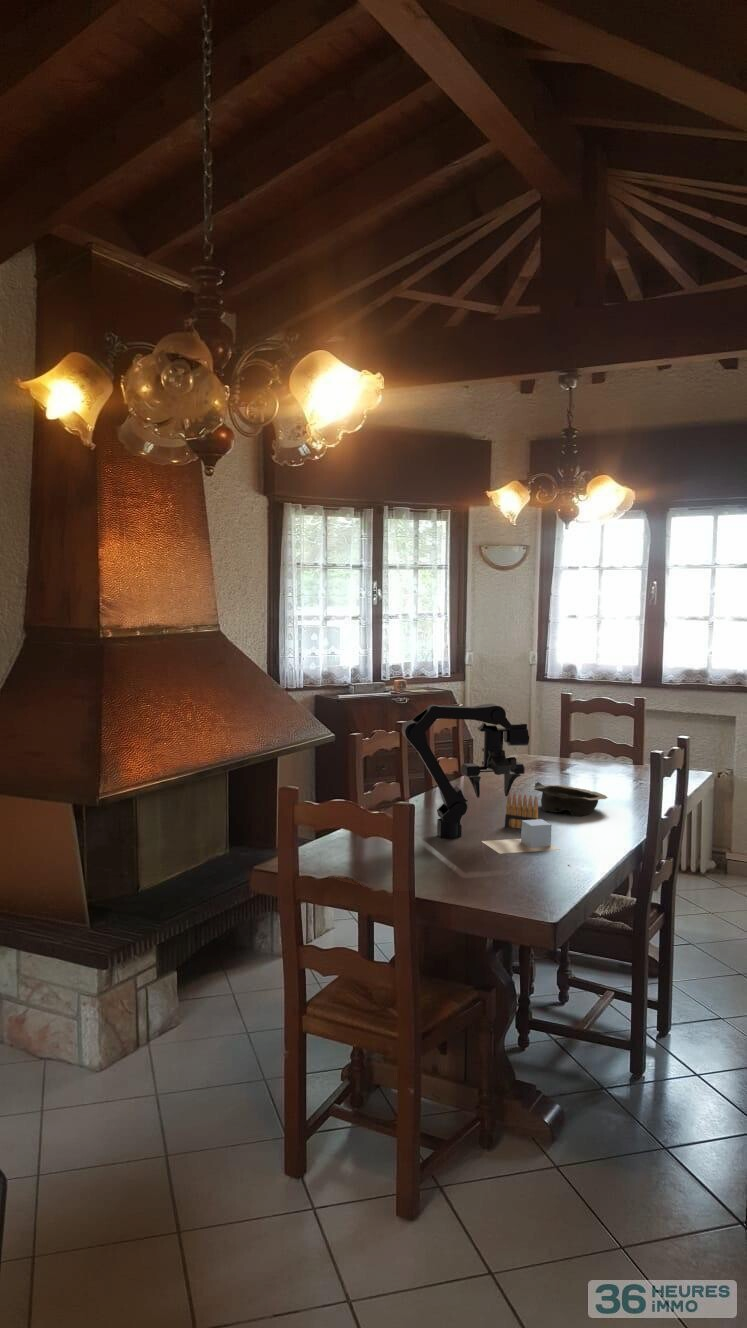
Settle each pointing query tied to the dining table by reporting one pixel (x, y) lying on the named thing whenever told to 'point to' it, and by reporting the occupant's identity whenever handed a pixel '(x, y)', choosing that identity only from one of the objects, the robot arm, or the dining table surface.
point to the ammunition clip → (520, 811)
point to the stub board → (514, 846)
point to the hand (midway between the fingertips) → (492, 796)
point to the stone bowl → (568, 799)
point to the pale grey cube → (536, 833)
